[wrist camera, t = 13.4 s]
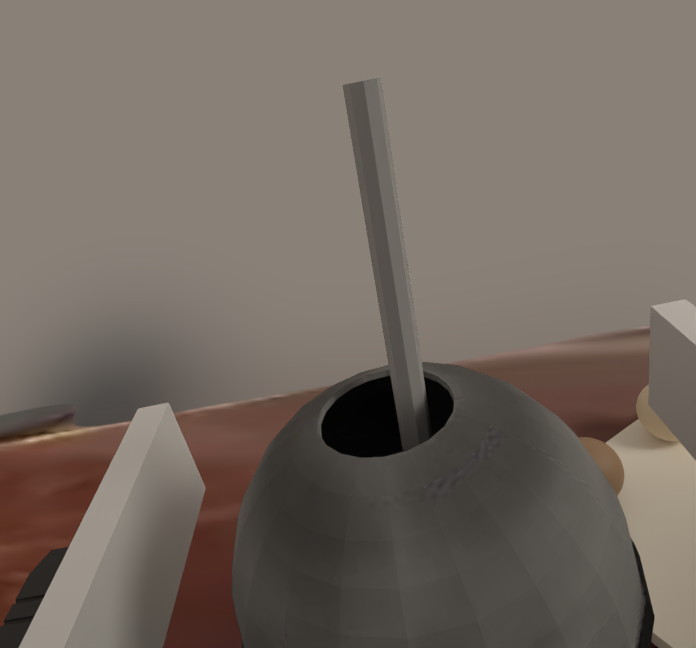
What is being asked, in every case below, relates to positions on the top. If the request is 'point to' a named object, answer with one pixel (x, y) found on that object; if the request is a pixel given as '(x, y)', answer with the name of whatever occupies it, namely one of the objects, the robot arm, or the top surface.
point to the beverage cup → (429, 495)
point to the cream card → (657, 516)
